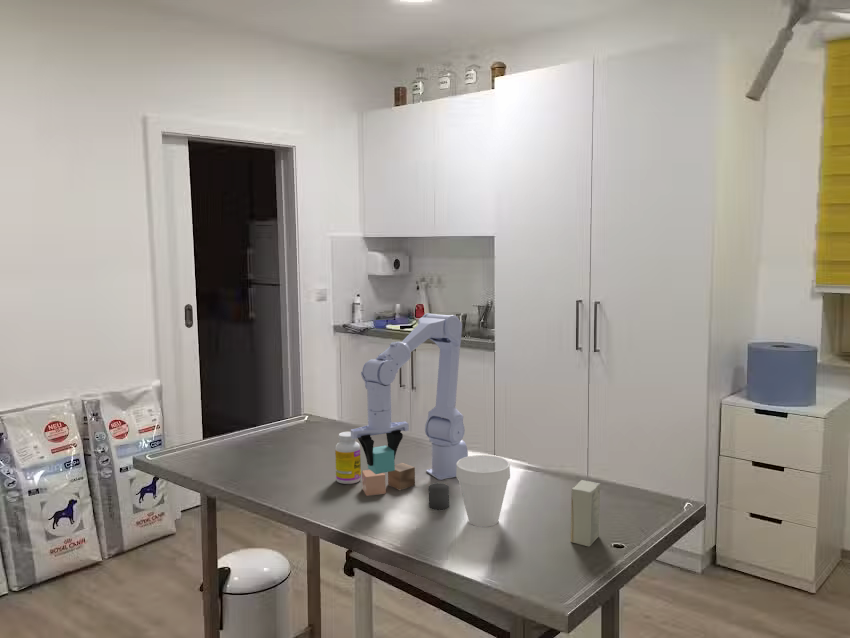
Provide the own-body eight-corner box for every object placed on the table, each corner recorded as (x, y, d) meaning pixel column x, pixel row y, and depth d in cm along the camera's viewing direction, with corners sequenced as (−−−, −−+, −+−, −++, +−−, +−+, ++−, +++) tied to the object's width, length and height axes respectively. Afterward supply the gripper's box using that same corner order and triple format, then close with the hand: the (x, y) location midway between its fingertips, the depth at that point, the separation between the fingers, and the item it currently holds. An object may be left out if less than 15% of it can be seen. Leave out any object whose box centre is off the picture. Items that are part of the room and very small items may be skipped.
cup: (495, 536, 158) (495, 476, 156) (446, 524, 164) (446, 466, 162) (519, 516, 168) (519, 459, 166) (472, 506, 174) (472, 451, 173)
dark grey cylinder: (443, 501, 178) (443, 481, 178) (453, 508, 174) (452, 488, 173) (425, 504, 176) (424, 485, 175) (434, 512, 172) (434, 491, 171)
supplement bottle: (357, 485, 190) (355, 438, 188) (332, 484, 191) (331, 437, 189) (364, 476, 196) (362, 430, 195) (340, 475, 198) (339, 429, 196)
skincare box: (580, 532, 159) (581, 478, 157) (600, 536, 157) (601, 482, 155) (569, 542, 154) (570, 488, 152) (589, 547, 151) (590, 491, 150)
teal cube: (386, 464, 181) (385, 445, 180) (394, 470, 176) (393, 450, 176) (368, 468, 179) (367, 448, 178) (375, 474, 174) (374, 454, 173)
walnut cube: (402, 480, 193) (402, 462, 192) (415, 485, 189) (414, 467, 189) (388, 485, 190) (387, 466, 189) (400, 490, 186) (399, 471, 185)
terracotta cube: (381, 487, 189) (380, 468, 188) (385, 493, 184) (385, 474, 183) (362, 489, 187) (362, 470, 187) (366, 496, 183) (365, 477, 182)
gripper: (399, 401, 182) (401, 453, 184) (345, 408, 176) (347, 462, 178) (411, 407, 176) (412, 461, 178) (355, 415, 170) (357, 471, 171)
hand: (380, 462), depth 177 cm, fingers closed on teal cube, 5 cm apart
